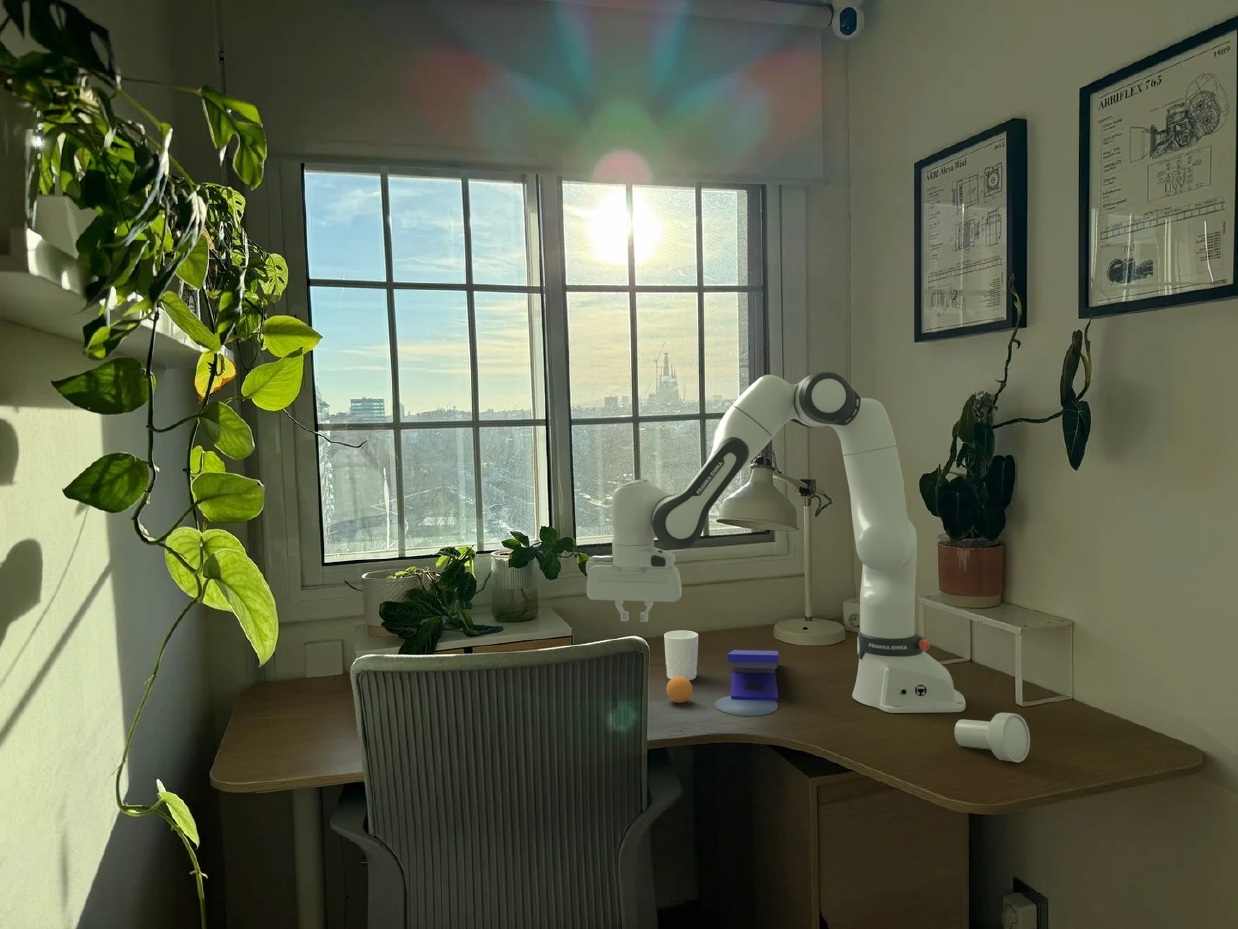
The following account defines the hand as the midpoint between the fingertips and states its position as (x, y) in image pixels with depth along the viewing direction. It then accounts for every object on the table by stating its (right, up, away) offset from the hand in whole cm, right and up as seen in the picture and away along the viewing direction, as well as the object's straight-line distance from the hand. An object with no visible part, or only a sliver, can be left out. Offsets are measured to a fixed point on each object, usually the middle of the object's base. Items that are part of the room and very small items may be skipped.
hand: (634, 621), depth 185 cm
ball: (+9, -14, -1) cm, 17 cm away
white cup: (+11, -16, +17) cm, 26 cm away
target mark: (+23, -17, -4) cm, 29 cm away
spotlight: (+63, -18, -32) cm, 73 cm away
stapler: (+28, -17, +13) cm, 35 cm away
